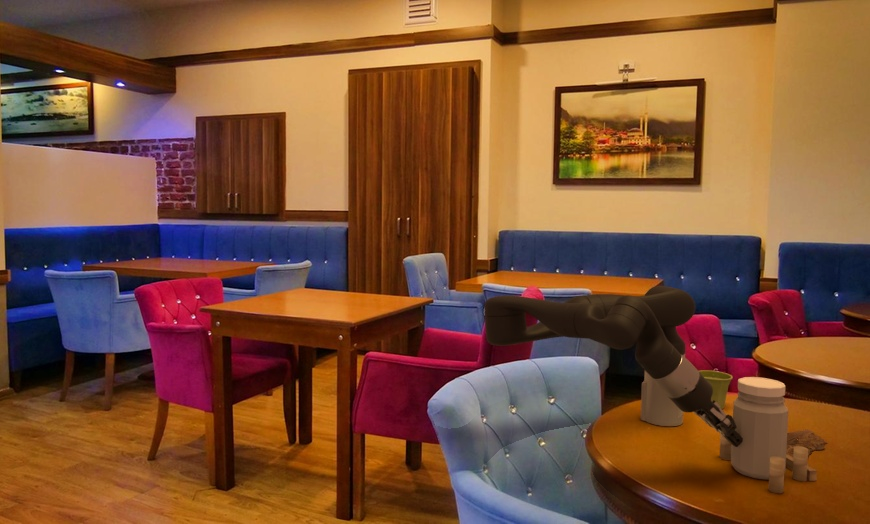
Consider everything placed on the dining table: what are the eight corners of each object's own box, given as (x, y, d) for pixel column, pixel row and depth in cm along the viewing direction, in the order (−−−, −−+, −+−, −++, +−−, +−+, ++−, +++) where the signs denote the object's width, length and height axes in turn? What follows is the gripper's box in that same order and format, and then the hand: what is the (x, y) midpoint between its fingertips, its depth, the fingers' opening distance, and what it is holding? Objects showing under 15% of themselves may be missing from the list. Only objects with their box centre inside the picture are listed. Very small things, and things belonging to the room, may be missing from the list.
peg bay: (774, 493, 116) (775, 461, 116) (717, 456, 134) (718, 428, 134) (833, 490, 117) (835, 459, 117) (769, 453, 136) (770, 426, 135)
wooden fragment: (800, 467, 129) (800, 462, 129) (744, 452, 137) (745, 447, 137) (840, 439, 146) (841, 434, 146) (789, 427, 154) (789, 423, 154)
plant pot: (731, 404, 172) (732, 372, 171) (731, 413, 163) (732, 380, 163) (693, 399, 176) (695, 368, 175) (692, 409, 167) (693, 376, 167)
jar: (760, 484, 120) (765, 390, 119) (719, 465, 129) (722, 378, 128) (796, 476, 124) (801, 385, 122) (753, 459, 133) (757, 374, 131)
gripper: (651, 386, 128) (706, 444, 131) (685, 405, 115) (745, 469, 118) (677, 360, 129) (731, 418, 131) (713, 376, 116) (773, 440, 118)
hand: (738, 442), depth 124 cm, fingers closed
